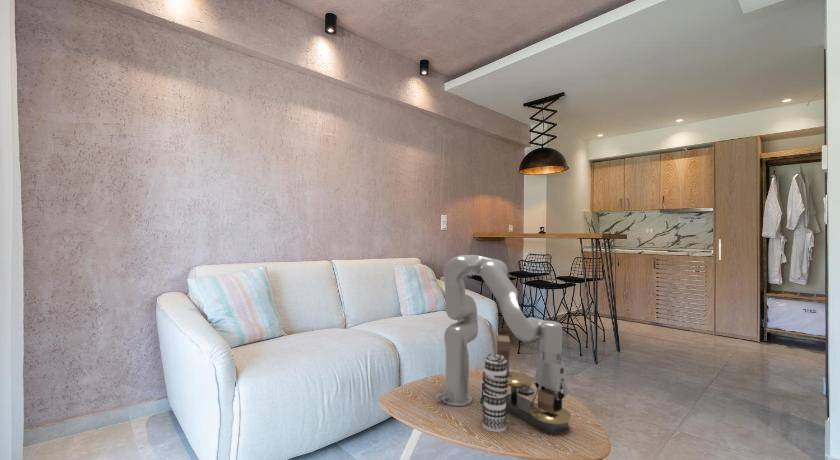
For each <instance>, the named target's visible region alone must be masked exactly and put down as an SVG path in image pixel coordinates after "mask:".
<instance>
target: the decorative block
mask: <svg viewBox="0 0 840 460" xmlns="http://www.w3.org/2000/svg"><path fill="white" fill-rule="evenodd" d="M510 353H511V340H510V336H509V335H502V334H498V335H496V354H500V355H502V356H503V357H504V358H505V359H506V360H507V362H506V369H507V370H506V371H508V372H509V371H510Z"/></svg>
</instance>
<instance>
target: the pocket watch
mask: <svg viewBox="0 0 840 460" xmlns="http://www.w3.org/2000/svg"><path fill="white" fill-rule="evenodd" d="M519 373H523V374H526V375H527V373H526V372H525V371H524V370H520V371H519ZM517 391H519V393H522V394H526V395H532V394H535V390H534V389H533V388H532V386H531V385H530V386H527V387H517Z"/></svg>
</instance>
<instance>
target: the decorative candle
mask: <svg viewBox="0 0 840 460" xmlns="http://www.w3.org/2000/svg"><path fill="white" fill-rule="evenodd" d="M483 361H484V369H483V370H484V371H483V372H482V382H483V383H482V392H483V394H484V395H483V396H484V397H483V398H484V399H483V404H482V420H481V421H482V427H483V428H484V429H485V430H487V431H490V432H495V433H497V432H504V431H505V430H507V424H508V423H507V422H508V421H507V419H508V418H507V417H508V416H507V415H508V412H507V411H506V410H507V407H506V401H505V400H506V395H508V390H507V388H508V387H509V386H508V385H507V383H508V381H507V380H506V379H505V378H507V377H509V376H508V374H506V372H507V373H508V371H506V370H507V369H506V362H507V360H506V359H505V358H504V357H503V356H502V355H500V354H497V353H489V354H487V355H486V357H485V358H484V359H483Z"/></svg>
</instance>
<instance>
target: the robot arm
mask: <svg viewBox="0 0 840 460" xmlns="http://www.w3.org/2000/svg"><path fill="white" fill-rule="evenodd" d="M508 271H509V270H508V267H507V264H506V263H505V262H504V261H502V260H500V259H496V258H490V257H487V256H482V255H477V254H460V255H457V256H454V257H453V258H451V259H449V261H447V262H446V264H445V266H444V268H443V281H444V295H445V297H444V298H445V301H444V302H445V312H446V316H447V317H448V318H449V319H450V320H453V321H454V320H455V321H457V322H454V323H451V324H450V325H449V326H447V328H446V329H445V331H444V334H443V338H444V339H443V340H444V346H445V381H444V382H445V385H444V388H442V392H441V393H440V392H439V393H435V398H436V400H439V399H441V401H442V402H443V403H444V404H446V405H448V406H452V407H466V406H468V405H470V404H471V403H472V402H473V397H472V396H471V395H470V394H469V377H470V376H469V374H470V372H469V370H470V368H469V367H470V366H469V365H470V355H469V351H468V350H469V349H468V344H469V343H471V342H473V341H474V340H475V339H476V338H477V337H478V334H479V326H478V325H479V323H478V308H477V304H476V303H477V302H475V300H474V298H473V297H472V296H470V294H466V285H465V282H464V277H465V276H471V275H472V276H473V275H475V276H479V277H481V278H482V280H483V281H484V283H485V284H486V286H487V287H488V289H489V290H490V291H491V293H492V294H493V296H494V298H495V299H496V300H497V303H498V305H499V308H500V309H499V310H500V311H501V315H502V317H503V319H504V321H505V323H506V325H507V327H508V328H509V329H510V331H511V333H512V334H513V335H514V336H515V337H516V338H517V339H518V340H519V341H521V342H523V343H528V342H532V341H533V340H535V339H538V338H539V357H538V359H537V364H536V369H535V371H536V374H535V375H534V376H533V377H531V378H532V380H533V383H534V385H535V387H536V389H537V391H538V390H541V389H545V388H548V389H550V390H553V391H554V394H555V398H556V399H554V411H558V410H561V406H562V407H563V399H564V398H566V396H568V395H570V394H571V391H570V390H569V388H568V386H567V376H566V375H567V373H566V372H567V371H566V367H565V363H564V362H565V361H564V360H565V357H564V356H563V352H562V351H563V325H562V324H561V322H558V321H555V320H545V319H541V318H539V317H535V316H534V317H532V316H531V317H526V316H525V315H524V313H523V311H522V309H521V308H520V305H519V301H518V289H517V288H516V286H515V285H514V283H512V281H511V280H510V278H509V277H508V276H507V275H508ZM562 390H563V391H562ZM558 393H559V395H558Z"/></svg>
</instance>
